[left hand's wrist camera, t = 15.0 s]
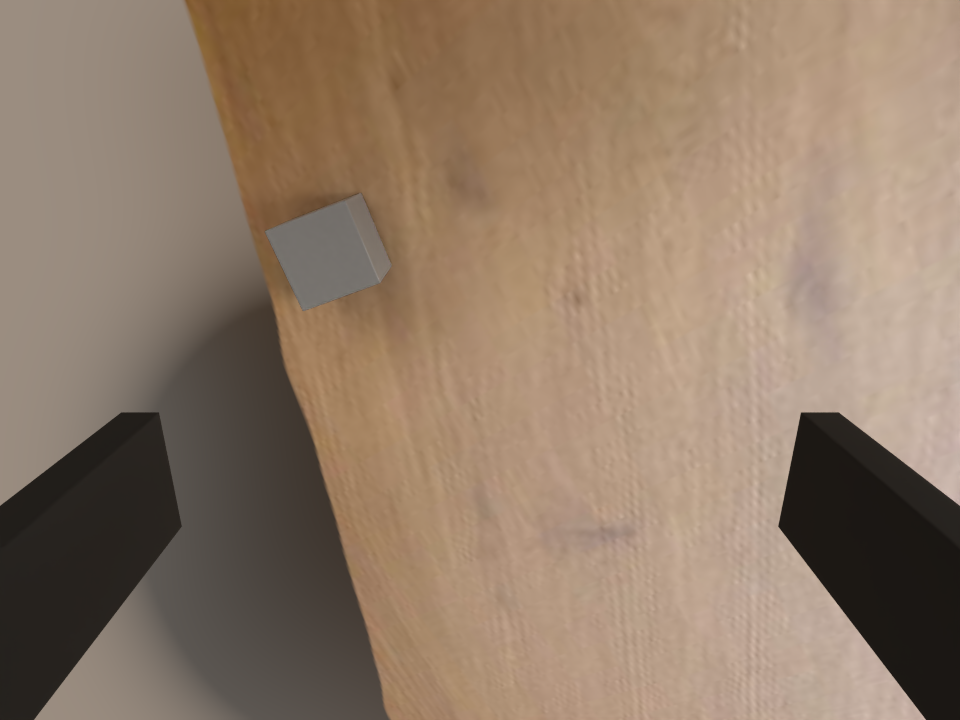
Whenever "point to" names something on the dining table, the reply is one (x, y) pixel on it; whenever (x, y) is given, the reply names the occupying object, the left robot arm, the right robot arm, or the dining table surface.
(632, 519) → the dining table surface
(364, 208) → the grey block
